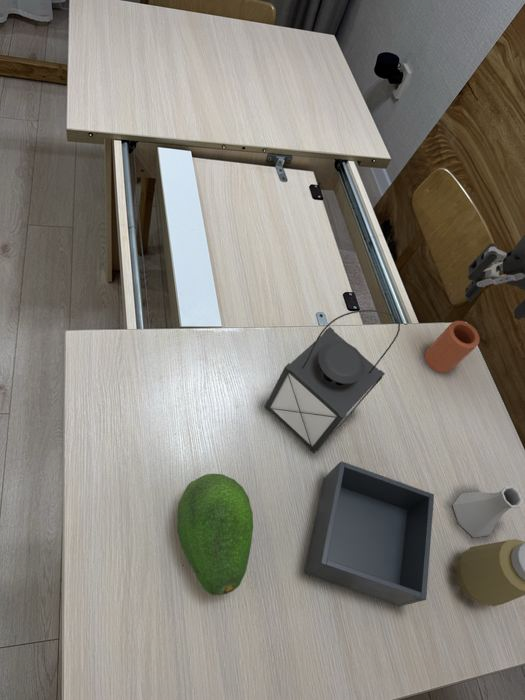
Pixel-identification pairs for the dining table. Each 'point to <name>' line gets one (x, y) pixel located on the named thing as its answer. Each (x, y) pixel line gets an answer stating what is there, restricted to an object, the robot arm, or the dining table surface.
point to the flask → (484, 509)
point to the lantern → (323, 386)
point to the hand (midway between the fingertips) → (492, 306)
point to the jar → (452, 346)
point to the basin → (372, 535)
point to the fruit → (216, 531)
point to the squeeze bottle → (493, 572)
